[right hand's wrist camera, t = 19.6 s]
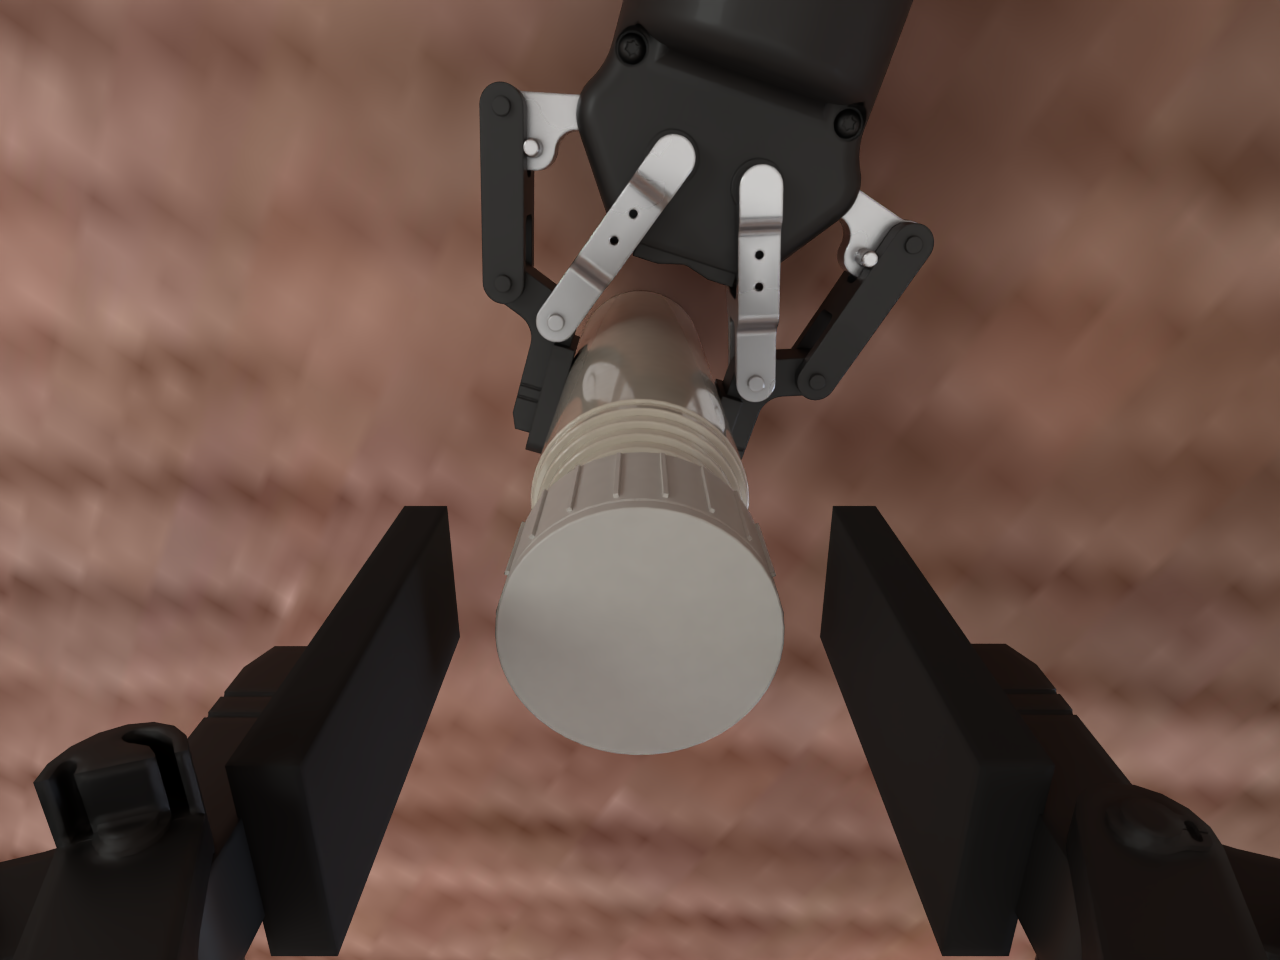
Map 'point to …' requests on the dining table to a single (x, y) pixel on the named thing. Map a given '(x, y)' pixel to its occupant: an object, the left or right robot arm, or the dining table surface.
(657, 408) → the bottle
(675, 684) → the cap
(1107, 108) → the dining table surface
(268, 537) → the dining table surface
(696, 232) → the left robot arm
